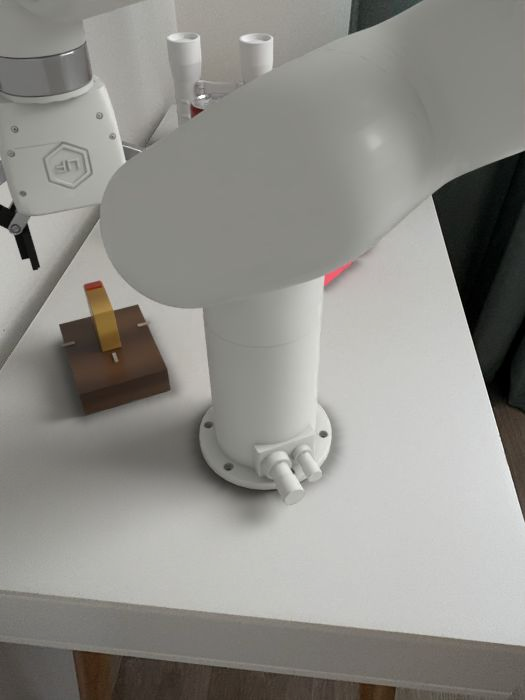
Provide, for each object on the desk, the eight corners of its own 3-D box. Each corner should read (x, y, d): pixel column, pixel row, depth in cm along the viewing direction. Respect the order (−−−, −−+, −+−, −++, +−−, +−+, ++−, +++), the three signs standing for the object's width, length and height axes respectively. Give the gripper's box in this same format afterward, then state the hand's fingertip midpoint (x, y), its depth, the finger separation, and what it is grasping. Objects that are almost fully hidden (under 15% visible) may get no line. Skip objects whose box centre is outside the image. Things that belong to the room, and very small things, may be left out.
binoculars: (175, 151, 110) (162, 41, 99) (182, 139, 114) (170, 31, 103) (272, 155, 109) (271, 43, 97) (275, 142, 113) (275, 33, 101)
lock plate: (174, 389, 66) (170, 366, 64) (81, 416, 63) (74, 394, 61) (143, 319, 75) (138, 298, 73) (60, 341, 72) (53, 319, 70)
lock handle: (121, 347, 66) (112, 307, 63) (102, 352, 66) (92, 312, 62) (110, 317, 70) (101, 278, 67) (92, 322, 70) (82, 283, 66)
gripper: (-73, 101, 45) (-4, 293, 56) (160, 68, 50) (181, 251, 61) (-75, 69, 50) (-11, 251, 62) (137, 42, 55) (160, 215, 66)
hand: (85, 251), depth 61 cm, fingers open, 9 cm apart
